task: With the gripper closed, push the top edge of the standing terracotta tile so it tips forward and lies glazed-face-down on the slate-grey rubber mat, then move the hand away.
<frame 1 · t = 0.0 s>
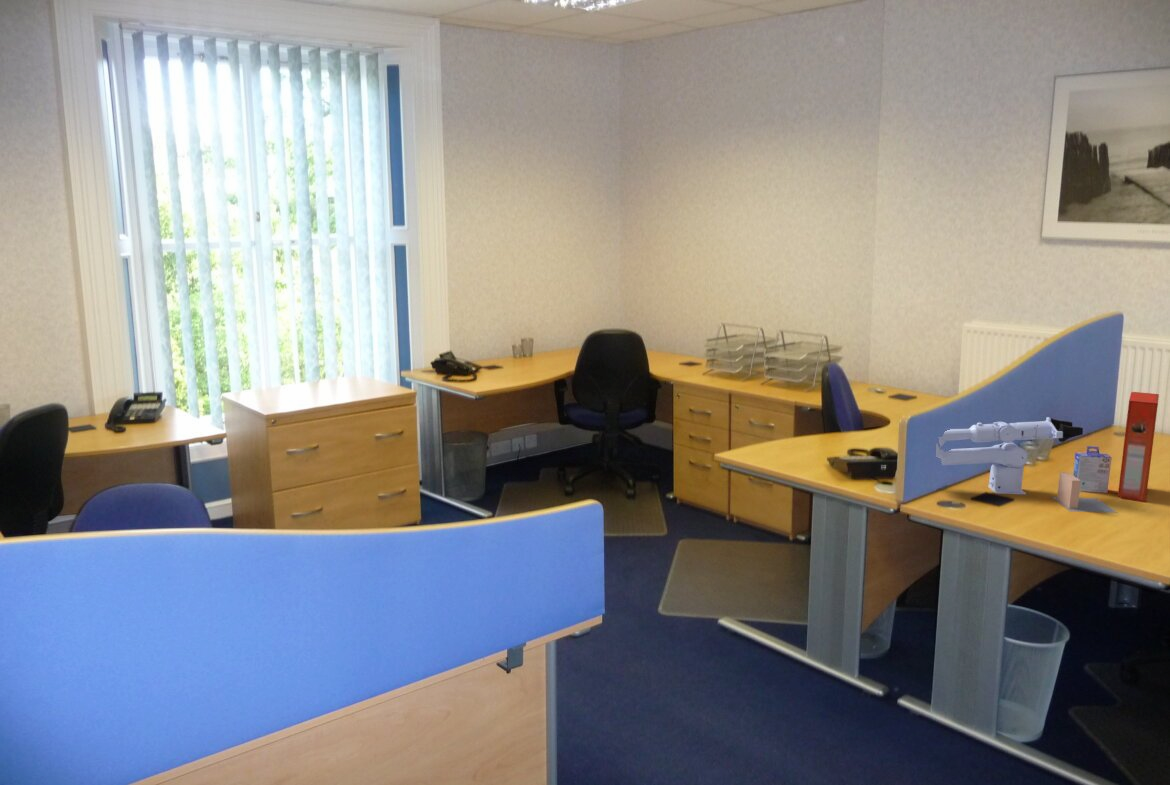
hand: (1077, 428, 298), 22 cm above the table, tool horizontal, fingers open, 7 cm apart
ink cartridge box: (1089, 490, 305), on the table
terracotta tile: (1067, 504, 290), resting on desk mat
file binder: (1131, 493, 303), on the table
desk mat: (1083, 505, 290), on the table
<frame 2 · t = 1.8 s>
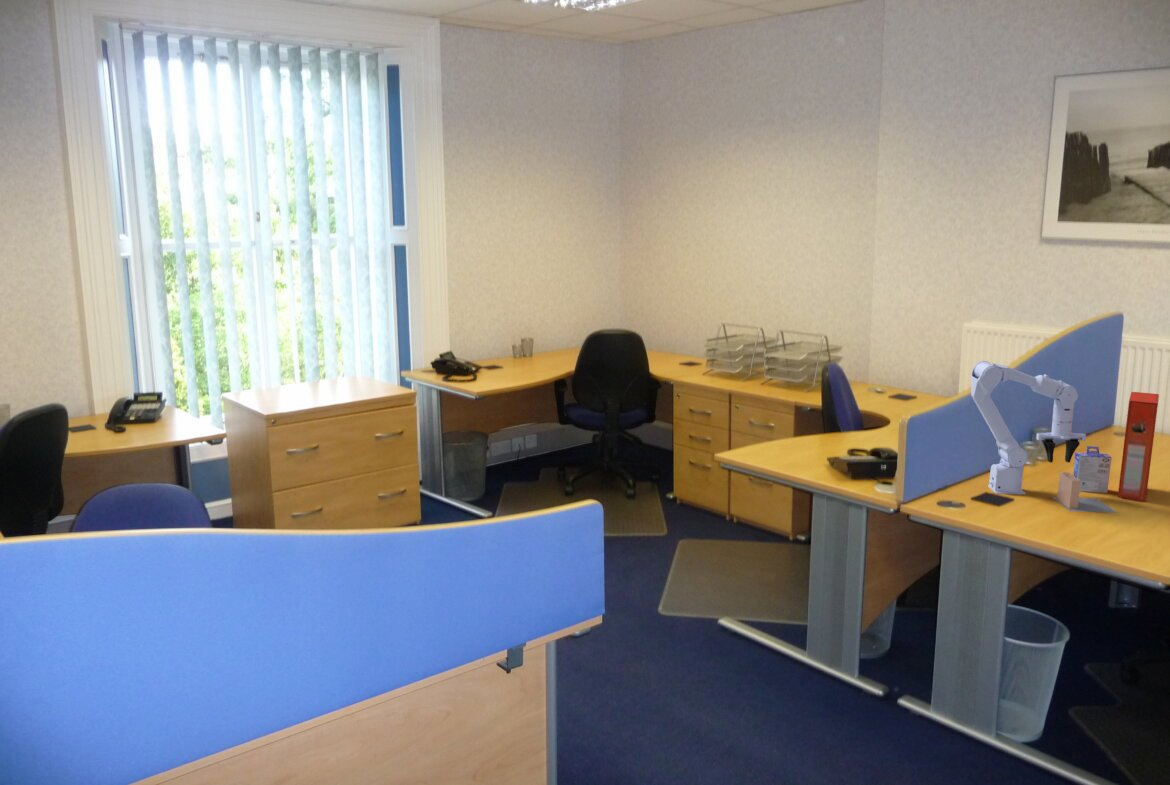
hand: (1058, 461, 300), 10 cm above the table, tool pointing down, fingers open, 5 cm apart
nothing on the table moved.
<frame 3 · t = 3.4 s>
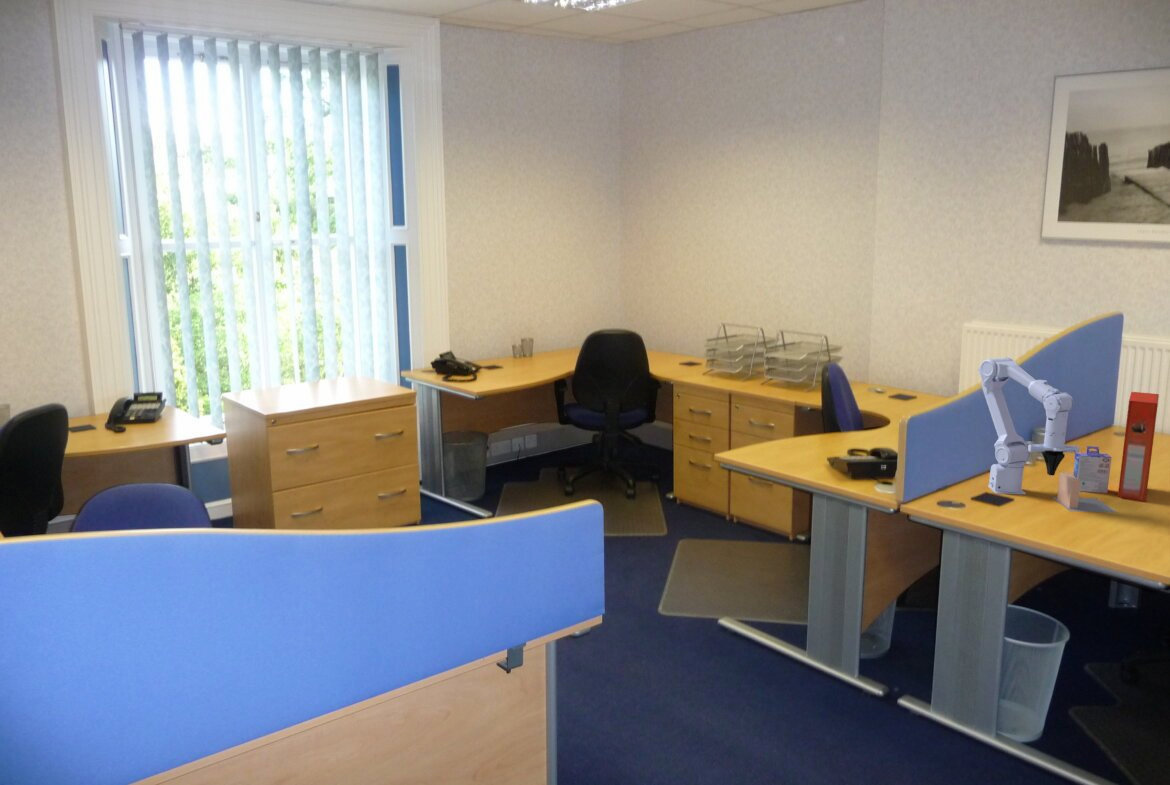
hand: (1050, 474, 288), 10 cm above the table, tool pointing down, fingers closed
nothing on the table moved.
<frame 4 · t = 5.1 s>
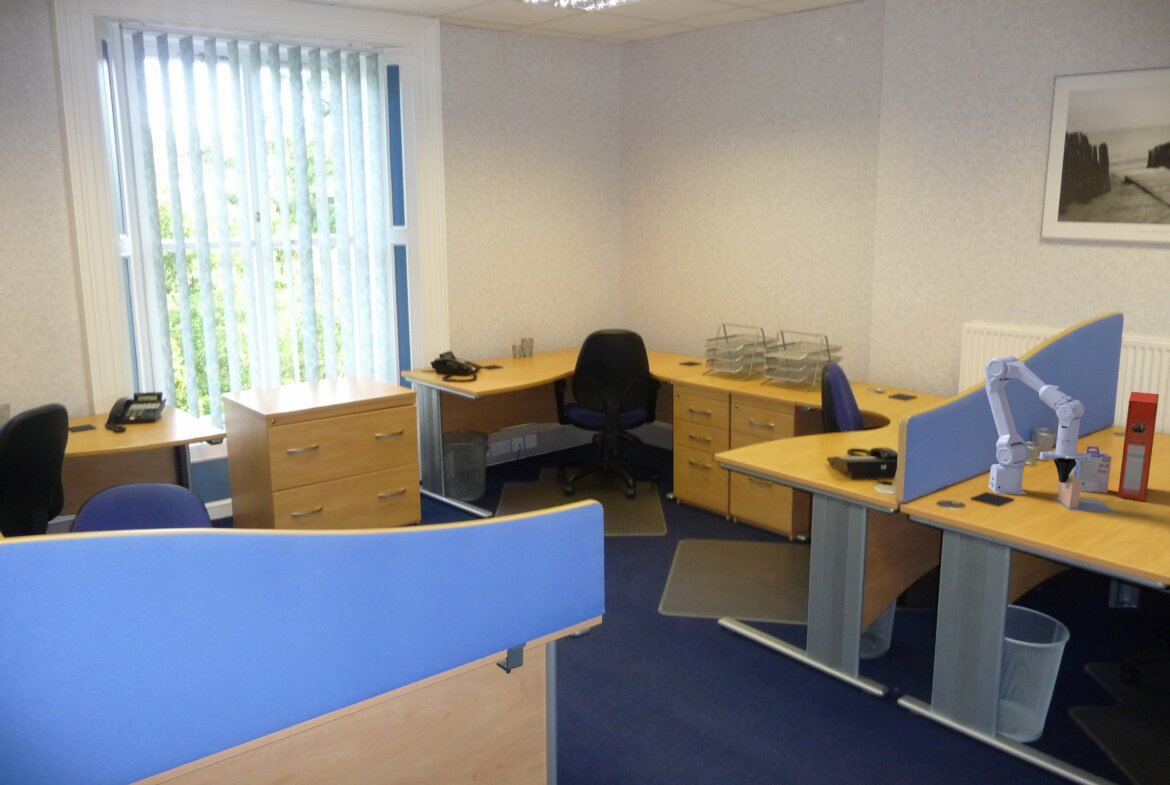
hand: (1062, 481, 289), 7 cm above the table, tool pointing down, fingers closed
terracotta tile: (1067, 503, 290), resting on desk mat, touching gripper
everything else where it was.
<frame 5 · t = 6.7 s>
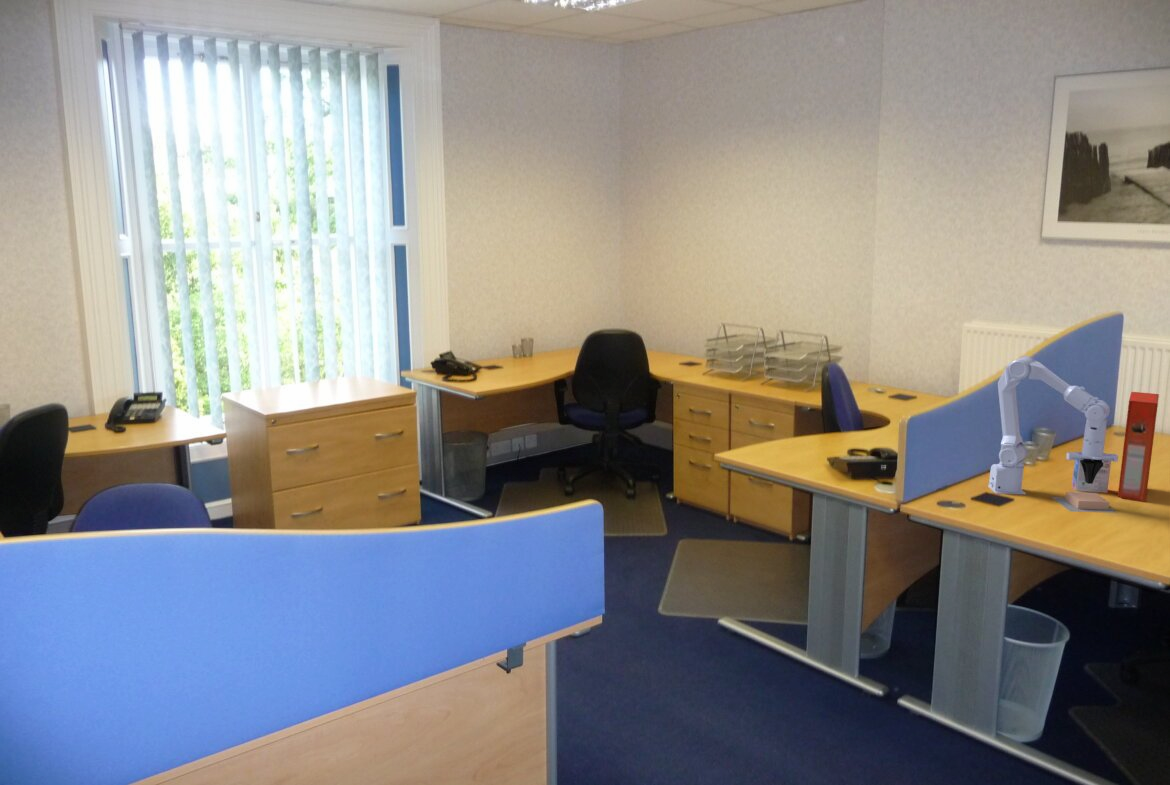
hand: (1088, 482, 288), 7 cm above the table, tool pointing down, fingers closed
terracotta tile: (1072, 500, 290), point 2 cm above the table, tilted 90°, touching desk mat
everything else where it was.
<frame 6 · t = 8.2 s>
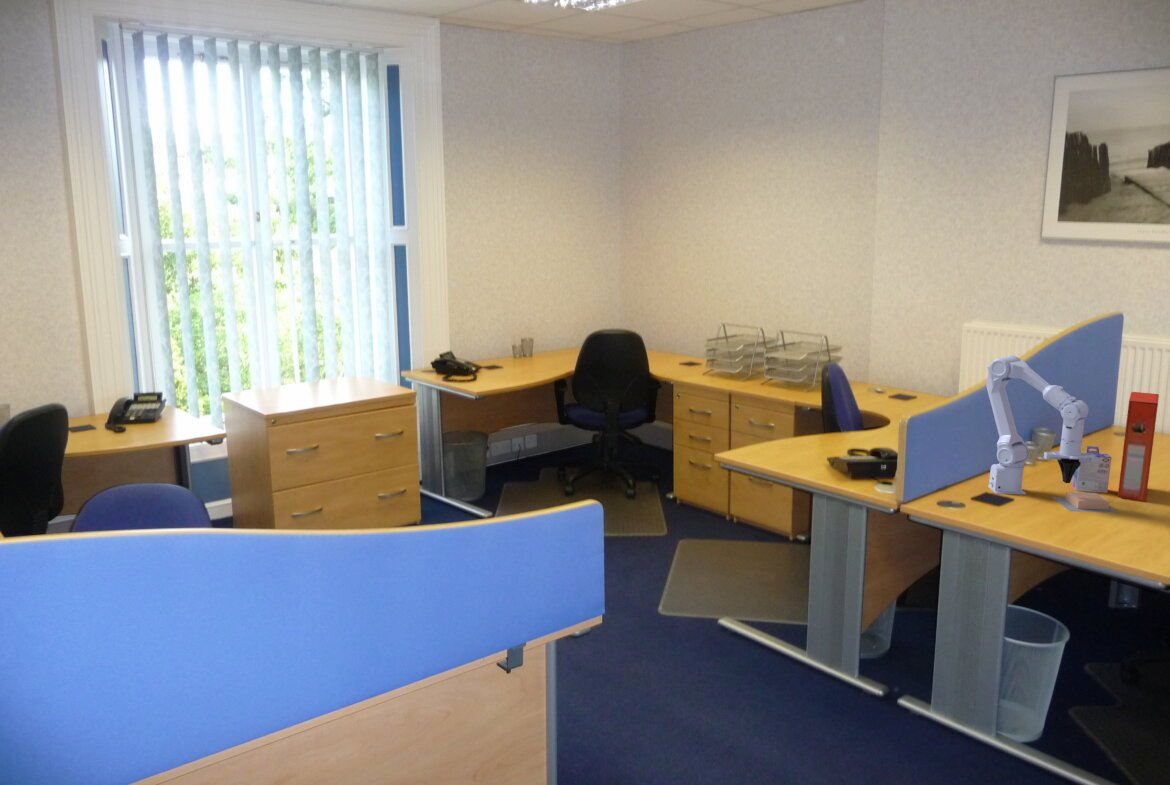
hand: (1066, 482, 289), 7 cm above the table, tool pointing down, fingers closed
nothing on the table moved.
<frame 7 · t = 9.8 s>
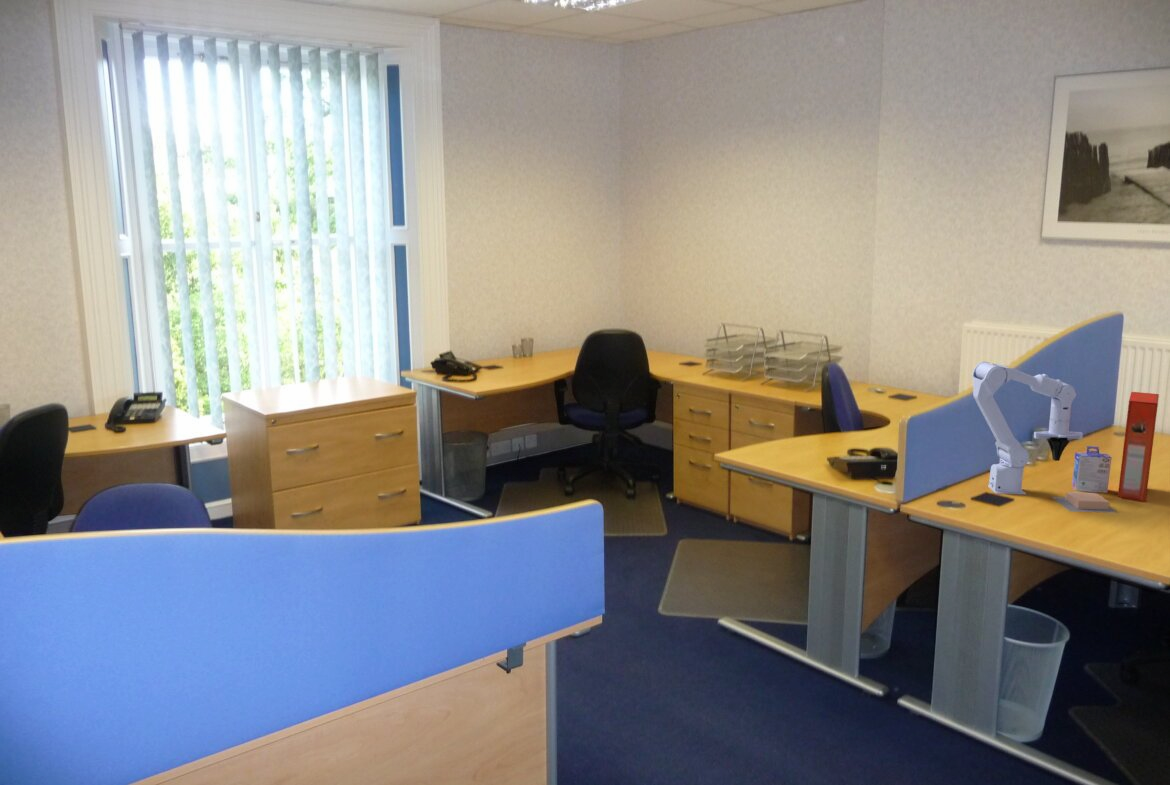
hand: (1055, 460, 302), 10 cm above the table, tool pointing down, fingers closed
nothing on the table moved.
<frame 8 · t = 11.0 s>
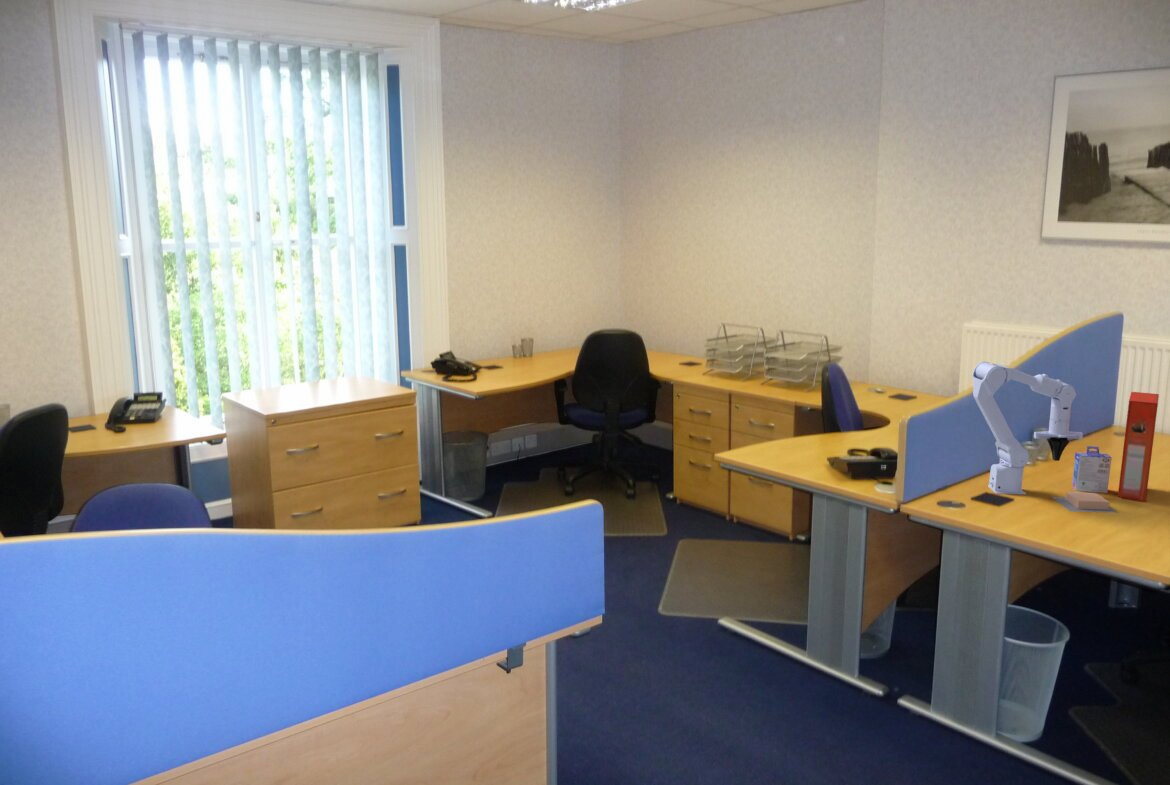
hand: (1055, 460, 302), 10 cm above the table, tool pointing down, fingers closed
nothing on the table moved.
at the end: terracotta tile tilted 90°; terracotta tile inside the target area (3.5 cm from its centre), point 1.6 cm above the table; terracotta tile touching desk mat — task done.
